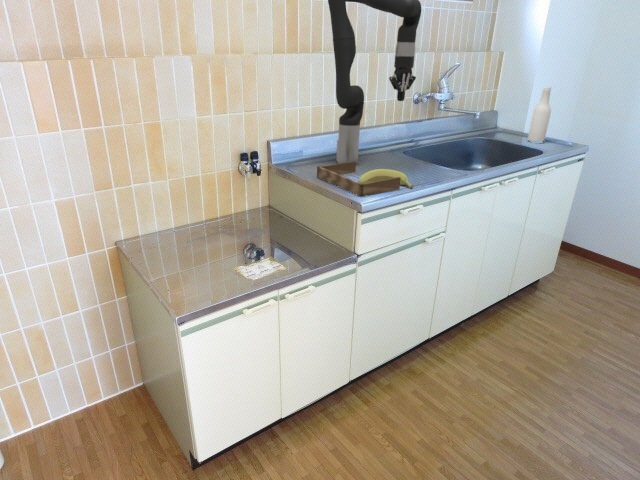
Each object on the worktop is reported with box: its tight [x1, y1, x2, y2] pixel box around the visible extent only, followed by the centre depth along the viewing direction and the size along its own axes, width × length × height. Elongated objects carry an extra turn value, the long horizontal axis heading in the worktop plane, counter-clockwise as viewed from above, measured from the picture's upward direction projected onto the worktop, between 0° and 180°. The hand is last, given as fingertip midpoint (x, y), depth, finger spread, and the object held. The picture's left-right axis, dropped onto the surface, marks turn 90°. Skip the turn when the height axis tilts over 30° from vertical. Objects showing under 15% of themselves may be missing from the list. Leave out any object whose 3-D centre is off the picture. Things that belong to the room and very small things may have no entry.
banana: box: [357, 168, 414, 189], centre depth 177 cm, size 14×6×20 cm
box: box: [316, 161, 401, 197], centre depth 178 cm, size 28×19×4 cm
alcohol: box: [527, 86, 552, 141], centre depth 255 cm, size 9×9×30 cm
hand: (400, 100), depth 186 cm, fingers closed
